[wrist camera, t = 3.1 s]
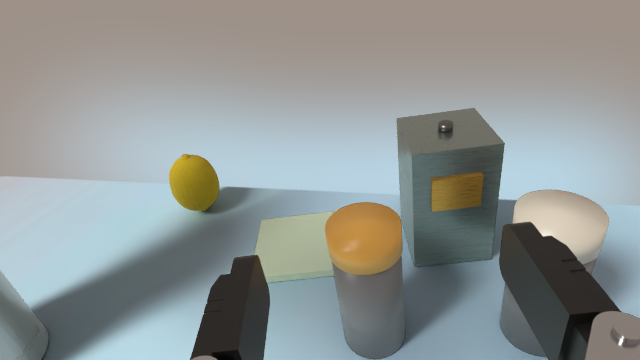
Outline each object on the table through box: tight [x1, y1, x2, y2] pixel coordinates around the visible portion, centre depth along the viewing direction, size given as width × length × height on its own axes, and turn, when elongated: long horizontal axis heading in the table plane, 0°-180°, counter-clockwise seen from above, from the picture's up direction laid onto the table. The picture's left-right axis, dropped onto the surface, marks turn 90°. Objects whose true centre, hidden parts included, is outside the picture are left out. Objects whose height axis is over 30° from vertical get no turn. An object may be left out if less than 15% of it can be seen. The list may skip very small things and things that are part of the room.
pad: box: [254, 211, 336, 283], centre depth 42 cm, size 9×9×1 cm
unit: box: [397, 108, 505, 267], centre depth 37 cm, size 7×8×13 cm
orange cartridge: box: [325, 202, 405, 359], centre depth 29 cm, size 5×5×11 cm
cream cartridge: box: [500, 190, 609, 357], centre depth 27 cm, size 5×5×11 cm
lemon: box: [169, 154, 219, 211], centre depth 48 cm, size 6×6×8 cm
